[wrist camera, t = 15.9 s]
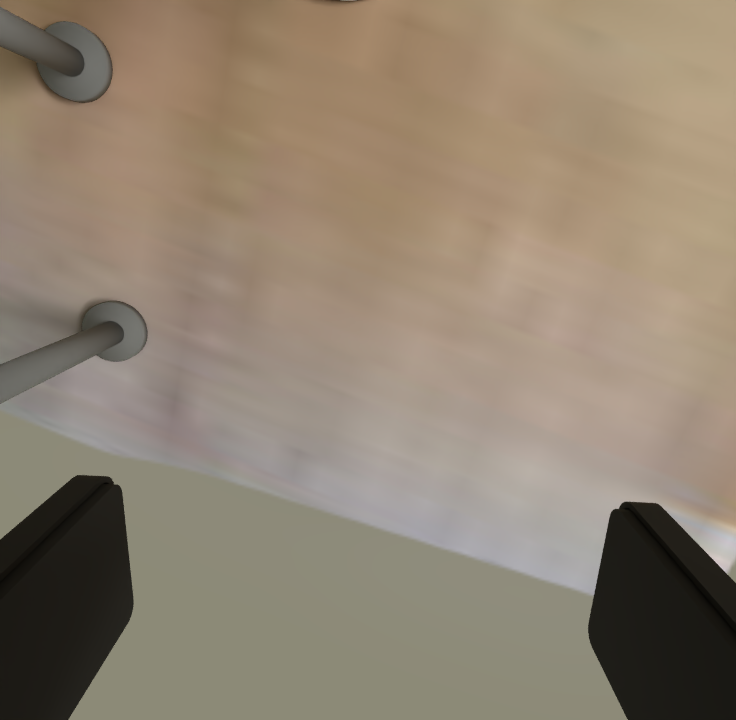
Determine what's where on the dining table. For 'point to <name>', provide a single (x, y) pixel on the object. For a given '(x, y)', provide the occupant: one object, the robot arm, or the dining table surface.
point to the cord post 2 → (78, 348)
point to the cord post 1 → (61, 55)
